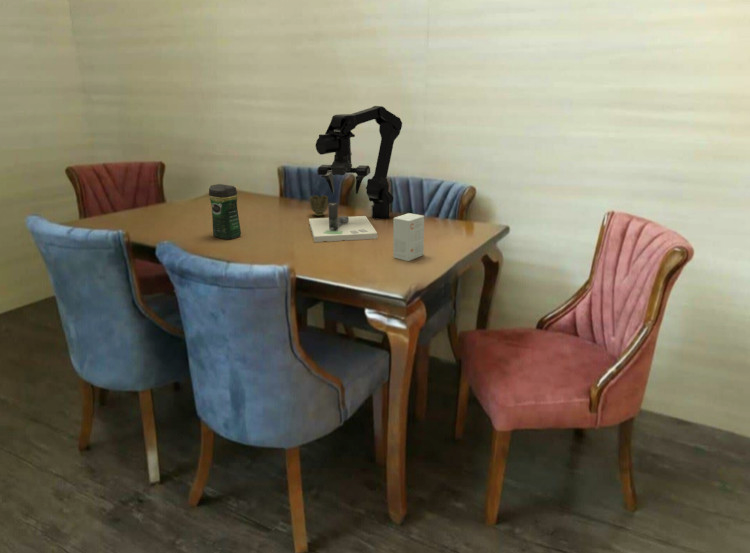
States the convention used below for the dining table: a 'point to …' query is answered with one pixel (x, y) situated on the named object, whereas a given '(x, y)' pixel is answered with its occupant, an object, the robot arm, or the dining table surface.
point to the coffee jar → (224, 211)
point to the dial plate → (342, 229)
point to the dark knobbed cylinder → (335, 217)
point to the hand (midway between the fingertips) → (344, 193)
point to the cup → (318, 204)
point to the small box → (408, 236)
